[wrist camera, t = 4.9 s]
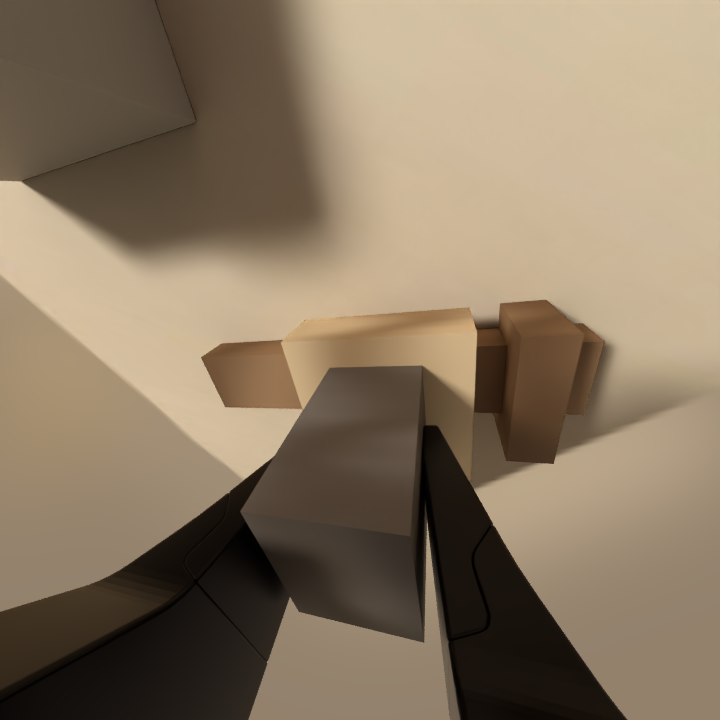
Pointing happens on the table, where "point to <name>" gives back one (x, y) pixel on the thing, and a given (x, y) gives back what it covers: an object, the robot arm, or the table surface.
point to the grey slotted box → (83, 81)
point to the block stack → (364, 462)
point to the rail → (492, 377)
